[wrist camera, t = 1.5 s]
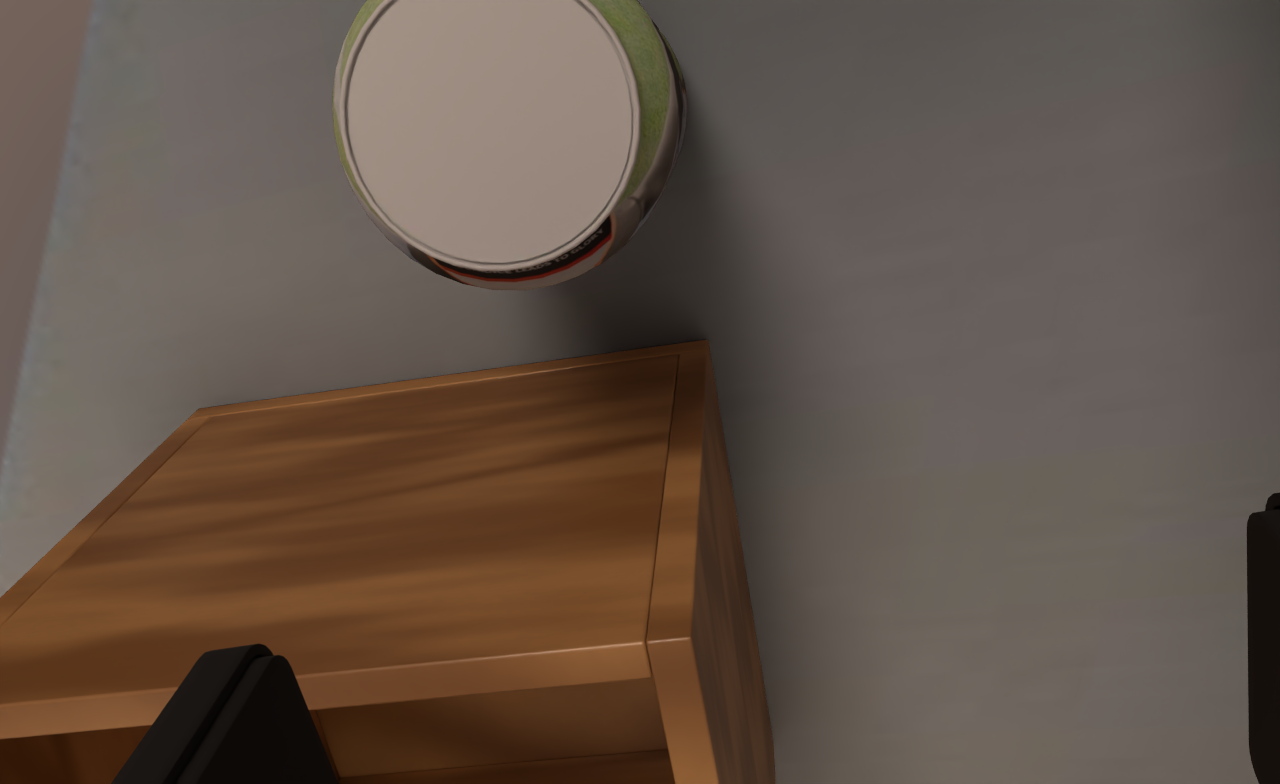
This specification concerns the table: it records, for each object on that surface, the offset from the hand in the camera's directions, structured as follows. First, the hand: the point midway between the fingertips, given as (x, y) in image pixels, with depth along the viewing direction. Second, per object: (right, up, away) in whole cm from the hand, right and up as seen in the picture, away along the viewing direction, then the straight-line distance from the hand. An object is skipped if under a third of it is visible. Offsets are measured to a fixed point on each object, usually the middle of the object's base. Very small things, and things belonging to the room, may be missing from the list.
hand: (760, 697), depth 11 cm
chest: (-6, -3, +25) cm, 25 cm away
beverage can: (-3, +11, +18) cm, 22 cm away
